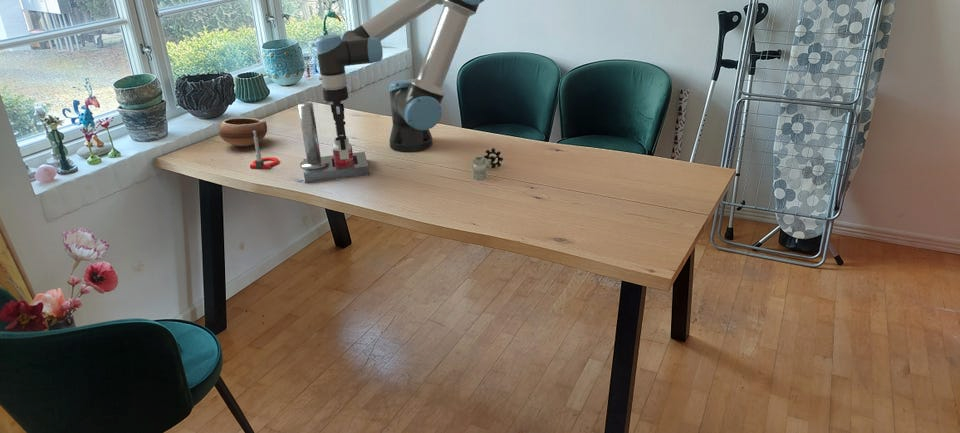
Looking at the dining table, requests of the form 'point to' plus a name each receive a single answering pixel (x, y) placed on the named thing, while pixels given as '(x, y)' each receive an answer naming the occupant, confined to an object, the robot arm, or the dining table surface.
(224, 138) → the bowl
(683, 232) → the dining table surface
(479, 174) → the valve
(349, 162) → the pill bottle
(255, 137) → the tow hook
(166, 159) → the dining table surface
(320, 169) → the rosette post
